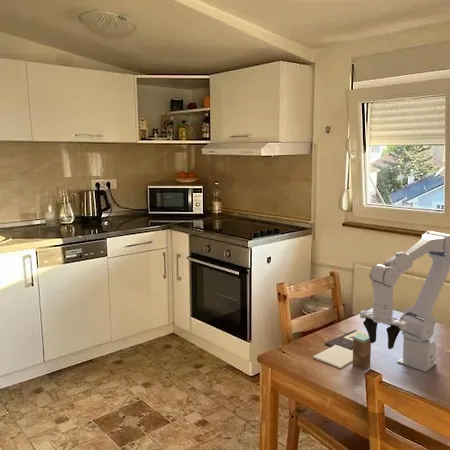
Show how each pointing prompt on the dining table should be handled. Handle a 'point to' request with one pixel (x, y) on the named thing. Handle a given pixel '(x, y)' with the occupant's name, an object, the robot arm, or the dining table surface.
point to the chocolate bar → (345, 340)
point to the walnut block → (361, 351)
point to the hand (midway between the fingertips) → (381, 345)
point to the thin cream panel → (336, 356)
